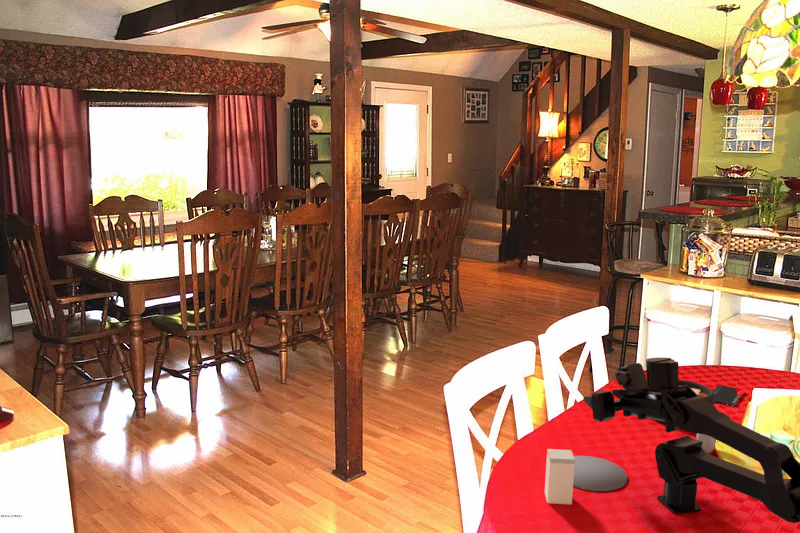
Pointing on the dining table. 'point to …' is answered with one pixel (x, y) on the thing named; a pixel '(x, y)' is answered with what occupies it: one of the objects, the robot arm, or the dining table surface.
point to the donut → (707, 442)
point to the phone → (726, 395)
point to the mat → (597, 474)
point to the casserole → (701, 392)
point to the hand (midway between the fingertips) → (598, 395)
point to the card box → (559, 476)
